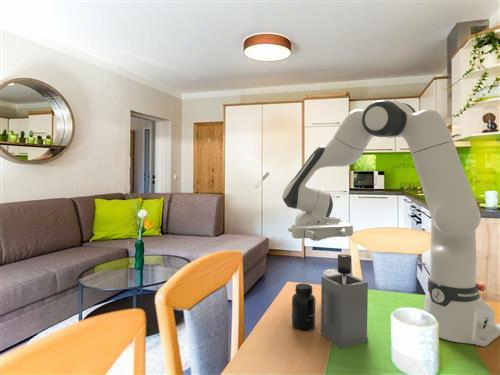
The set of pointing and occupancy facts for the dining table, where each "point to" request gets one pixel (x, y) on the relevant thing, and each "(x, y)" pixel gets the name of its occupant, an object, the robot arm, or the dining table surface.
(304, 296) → the supplement bottle
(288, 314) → the dining table surface
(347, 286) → the gray open square box
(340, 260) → the dark cylinder rod
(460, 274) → the robot arm
